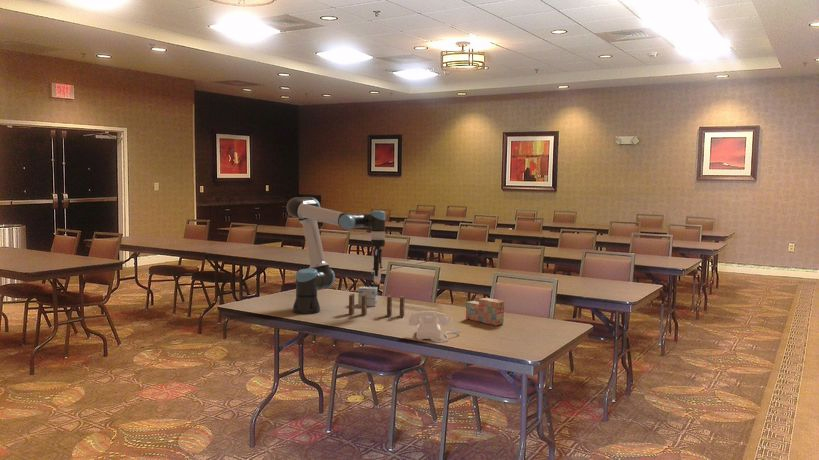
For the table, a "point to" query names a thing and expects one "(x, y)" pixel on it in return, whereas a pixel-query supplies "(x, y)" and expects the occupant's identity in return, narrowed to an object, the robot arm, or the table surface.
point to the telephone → (431, 325)
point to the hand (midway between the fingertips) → (377, 281)
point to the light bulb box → (368, 295)
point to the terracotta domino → (379, 276)
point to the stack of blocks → (486, 311)
